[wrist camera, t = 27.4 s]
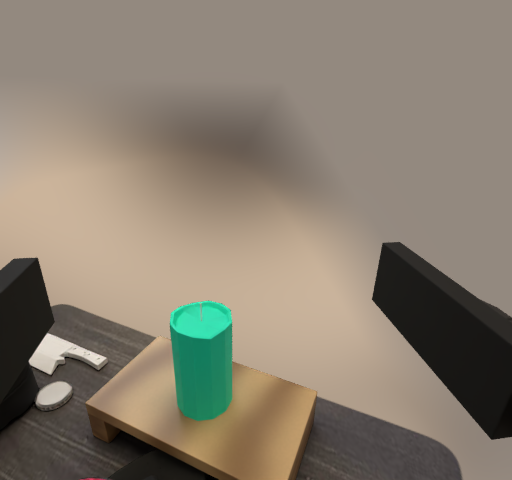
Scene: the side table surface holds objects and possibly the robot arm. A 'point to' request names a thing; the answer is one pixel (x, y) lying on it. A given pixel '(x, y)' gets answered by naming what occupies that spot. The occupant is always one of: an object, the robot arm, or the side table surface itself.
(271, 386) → the oak shelf
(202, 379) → the candle
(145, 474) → the sandal
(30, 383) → the loafer
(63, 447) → the side table surface
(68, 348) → the white plastic blade
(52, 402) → the white ridged disc
